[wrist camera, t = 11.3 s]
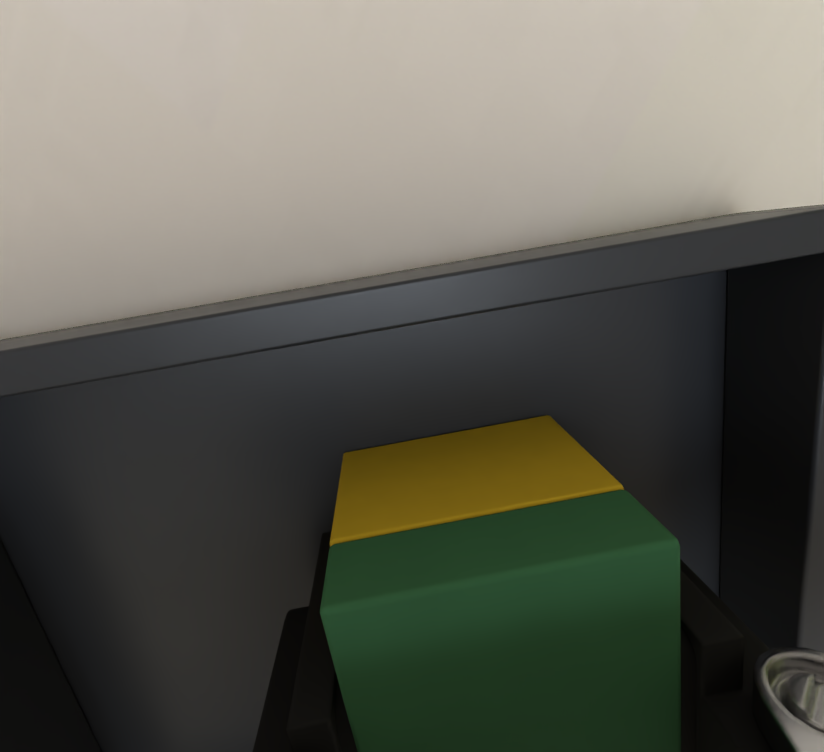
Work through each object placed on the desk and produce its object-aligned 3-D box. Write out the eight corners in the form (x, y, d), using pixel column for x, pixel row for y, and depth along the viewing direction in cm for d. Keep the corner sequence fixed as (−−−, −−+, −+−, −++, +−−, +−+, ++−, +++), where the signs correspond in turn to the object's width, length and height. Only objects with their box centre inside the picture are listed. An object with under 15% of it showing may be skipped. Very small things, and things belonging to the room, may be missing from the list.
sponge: (571, 658, 10) (684, 896, 7) (397, 693, 10) (410, 956, 7) (549, 413, 9) (684, 539, 5) (342, 451, 9) (317, 611, 5)
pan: (134, 826, 11) (69, 979, 9) (-93, 355, 8) (-287, 400, 6) (723, 706, 12) (811, 822, 10) (738, 212, 9) (879, 199, 6)
